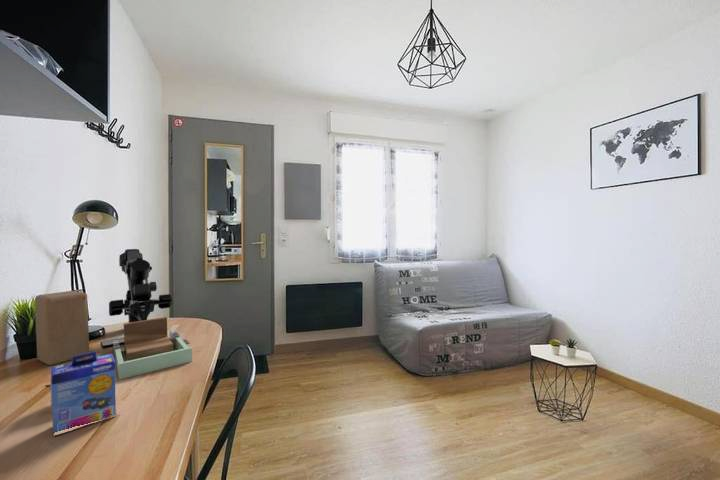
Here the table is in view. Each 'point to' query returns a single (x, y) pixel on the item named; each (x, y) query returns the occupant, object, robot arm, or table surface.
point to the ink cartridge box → (83, 391)
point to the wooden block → (61, 326)
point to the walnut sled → (146, 338)
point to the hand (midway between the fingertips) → (144, 324)
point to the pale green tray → (153, 358)
